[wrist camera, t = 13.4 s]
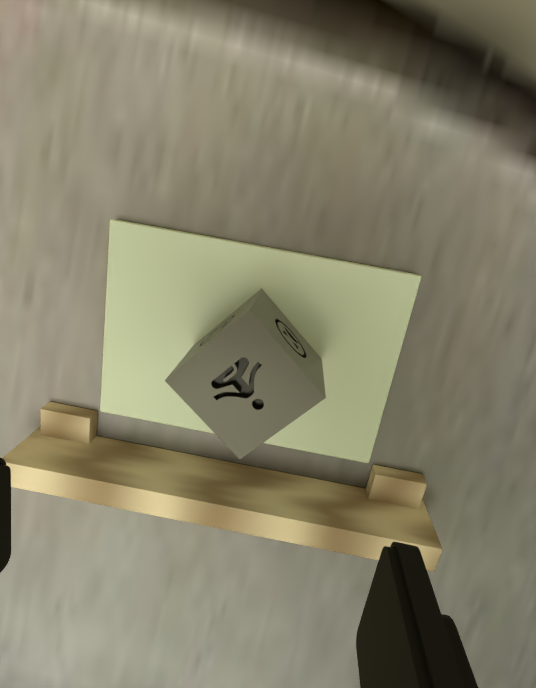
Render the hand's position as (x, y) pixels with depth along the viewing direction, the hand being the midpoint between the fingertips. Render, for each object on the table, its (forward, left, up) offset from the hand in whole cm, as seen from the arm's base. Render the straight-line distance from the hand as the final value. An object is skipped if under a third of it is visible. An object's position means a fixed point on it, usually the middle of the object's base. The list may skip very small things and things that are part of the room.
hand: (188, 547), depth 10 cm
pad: (0, -1, -15) cm, 15 cm away
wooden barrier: (0, +8, -15) cm, 17 cm away
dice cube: (0, 0, -14) cm, 14 cm away
